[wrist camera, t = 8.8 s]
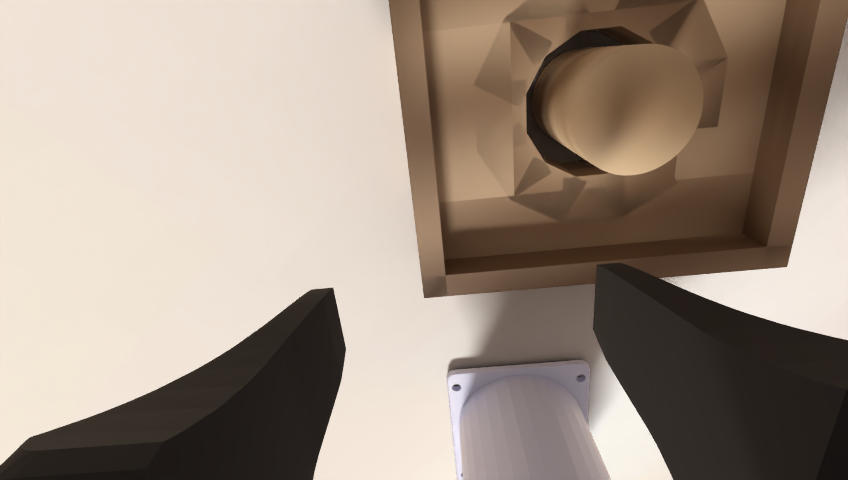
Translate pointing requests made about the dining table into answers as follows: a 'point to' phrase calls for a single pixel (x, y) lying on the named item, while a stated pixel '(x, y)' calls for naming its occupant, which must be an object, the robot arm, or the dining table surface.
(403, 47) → the walnut box
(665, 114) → the oak dowel
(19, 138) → the dining table surface
